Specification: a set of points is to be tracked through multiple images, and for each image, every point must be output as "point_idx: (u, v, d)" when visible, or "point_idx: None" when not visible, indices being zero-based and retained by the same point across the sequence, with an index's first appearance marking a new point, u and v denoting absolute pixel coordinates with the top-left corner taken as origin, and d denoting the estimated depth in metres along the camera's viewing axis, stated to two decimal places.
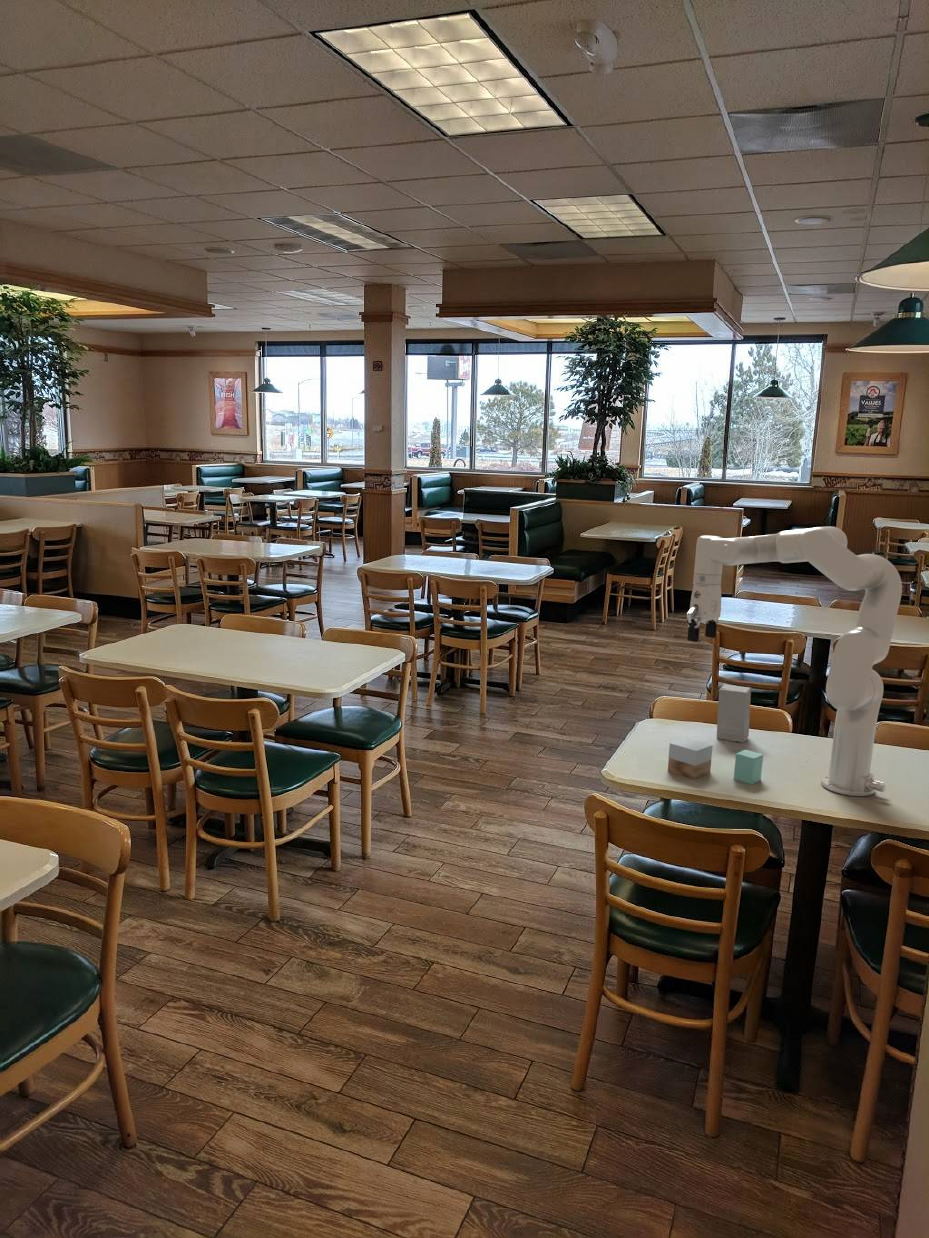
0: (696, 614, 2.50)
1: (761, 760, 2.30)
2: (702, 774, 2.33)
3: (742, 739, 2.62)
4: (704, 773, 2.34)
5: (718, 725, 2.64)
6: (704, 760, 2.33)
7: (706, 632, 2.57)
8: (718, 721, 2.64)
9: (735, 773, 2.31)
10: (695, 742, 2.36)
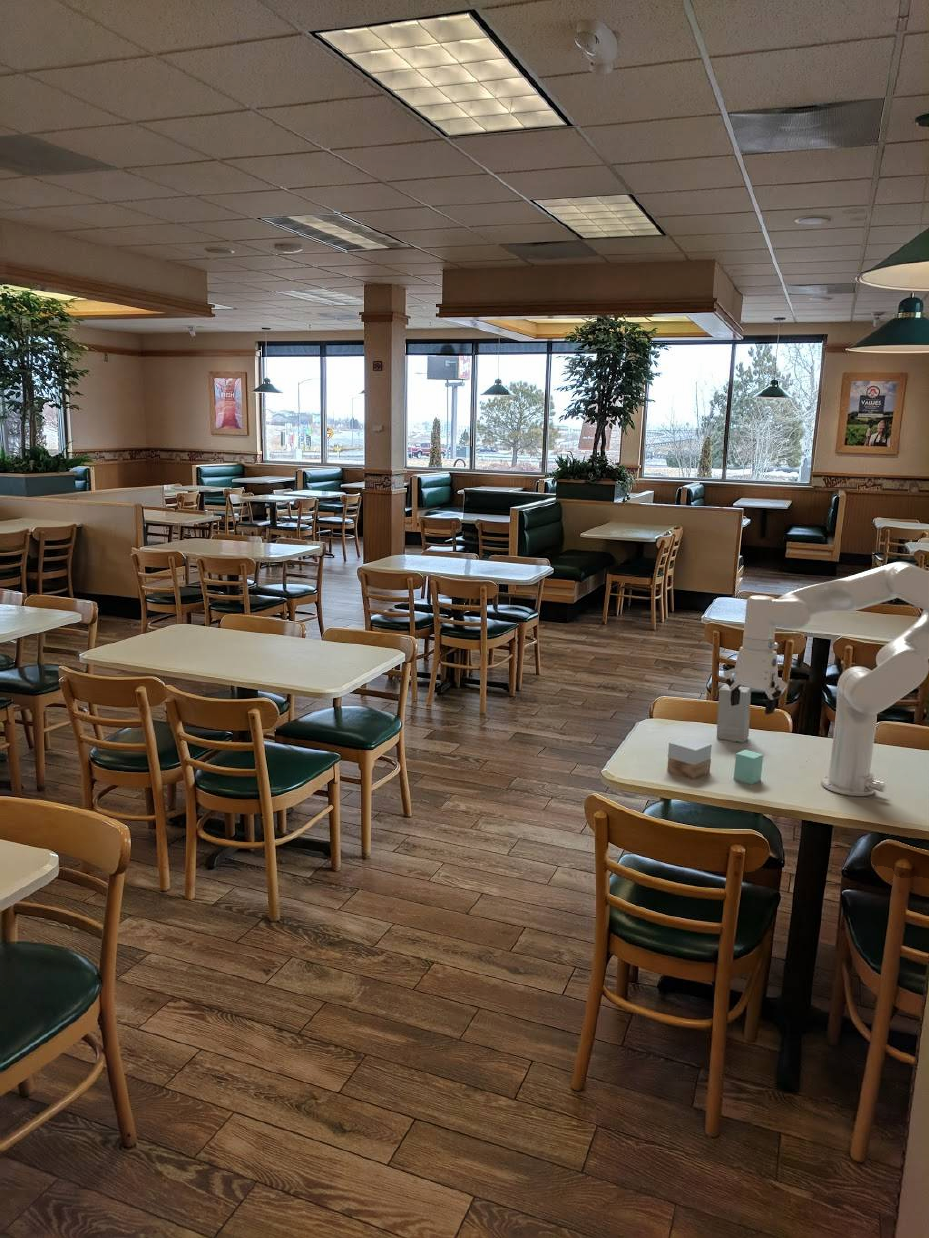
0: None
1: (761, 760, 2.30)
2: (702, 774, 2.33)
3: (742, 739, 2.62)
4: (704, 773, 2.34)
5: (718, 725, 2.64)
6: (703, 759, 2.33)
7: (734, 701, 2.32)
8: (718, 721, 2.64)
9: (735, 773, 2.31)
10: (694, 741, 2.36)
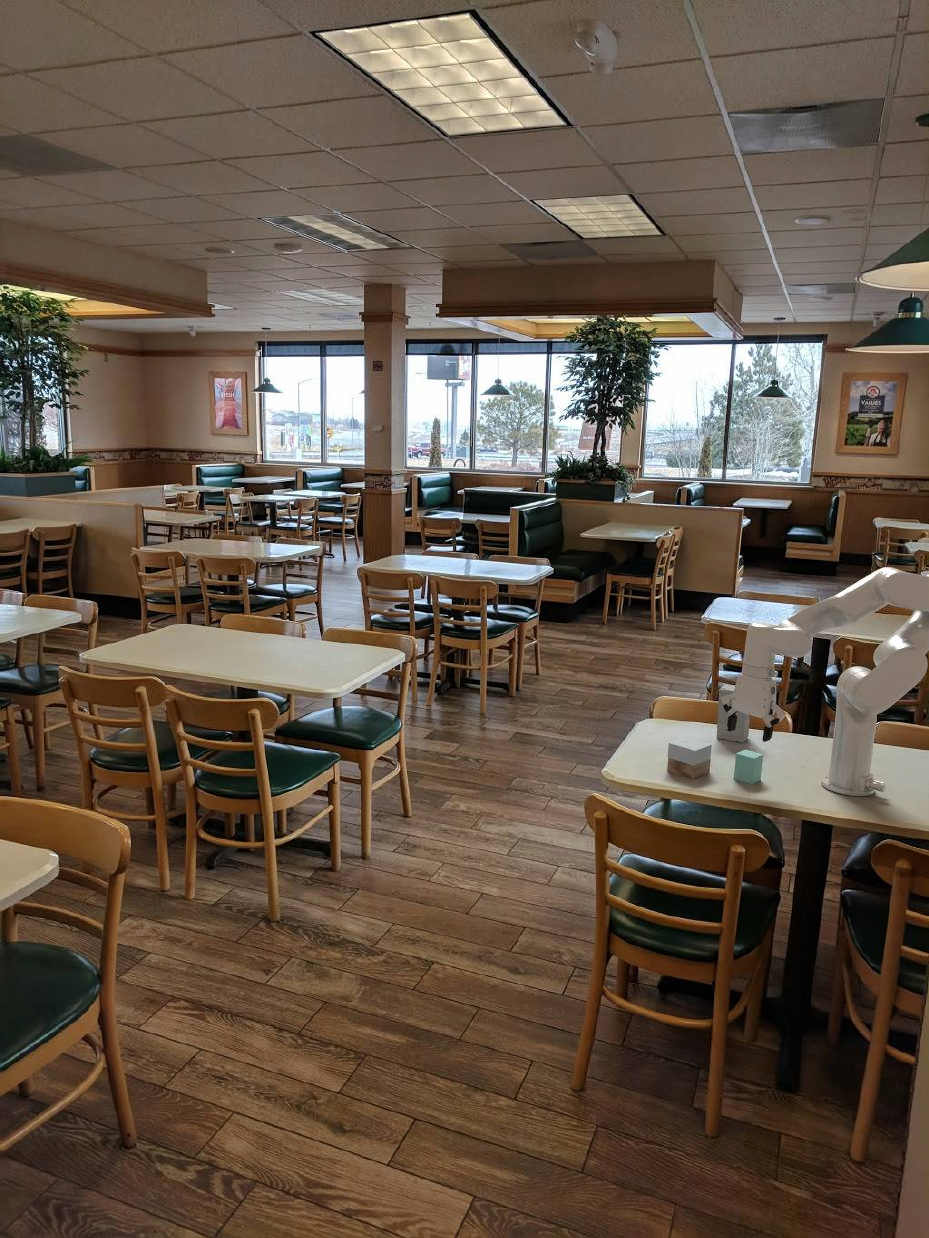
0: None
1: (761, 760, 2.30)
2: (701, 774, 2.33)
3: (742, 739, 2.62)
4: (703, 773, 2.34)
5: (718, 725, 2.64)
6: (703, 760, 2.33)
7: (731, 727, 2.32)
8: (718, 721, 2.64)
9: (735, 773, 2.31)
10: (694, 742, 2.36)
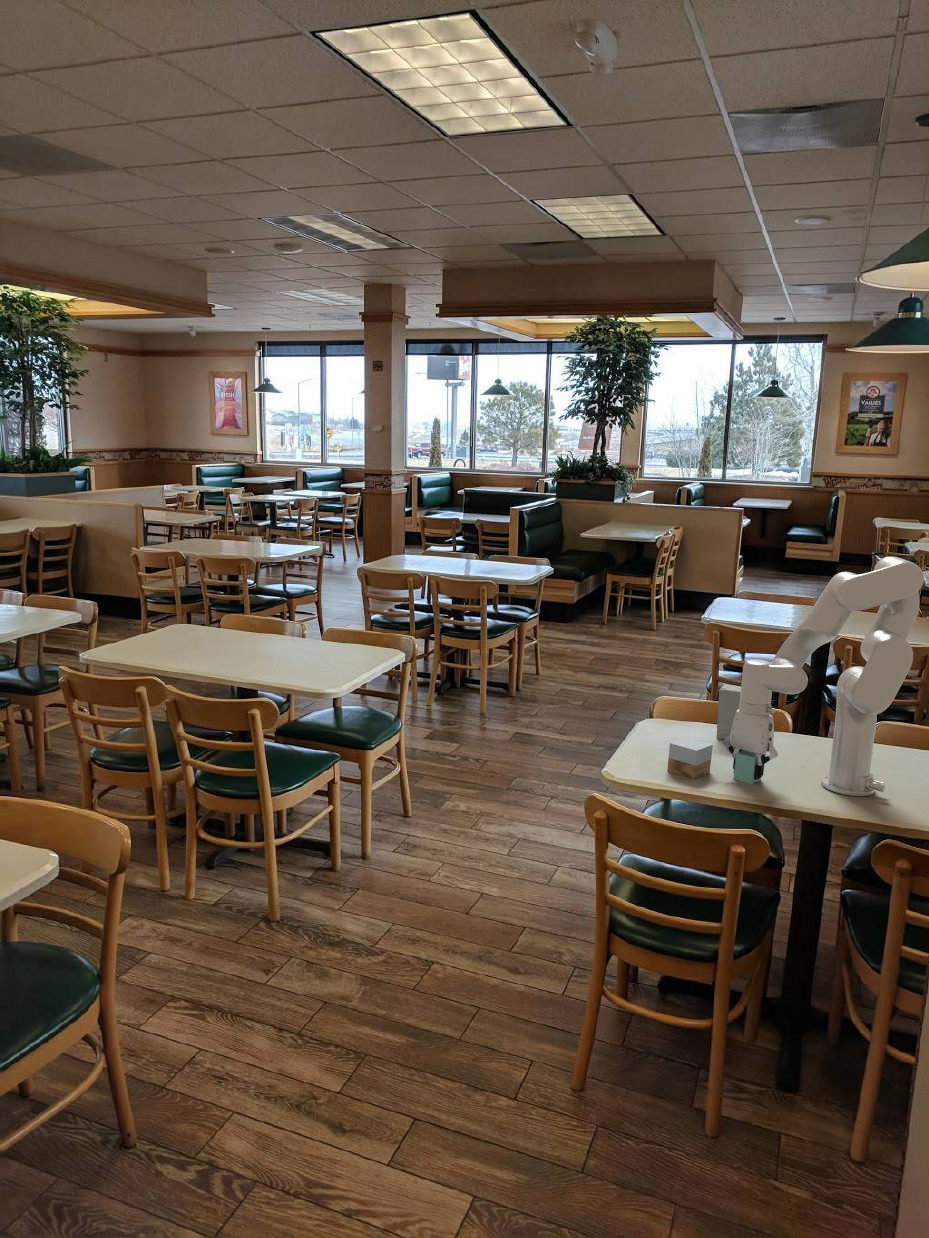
0: None
1: None
2: (702, 774, 2.33)
3: None
4: (704, 773, 2.34)
5: (718, 725, 2.64)
6: (704, 760, 2.32)
7: None
8: (718, 721, 2.64)
9: (735, 773, 2.31)
10: (695, 742, 2.36)
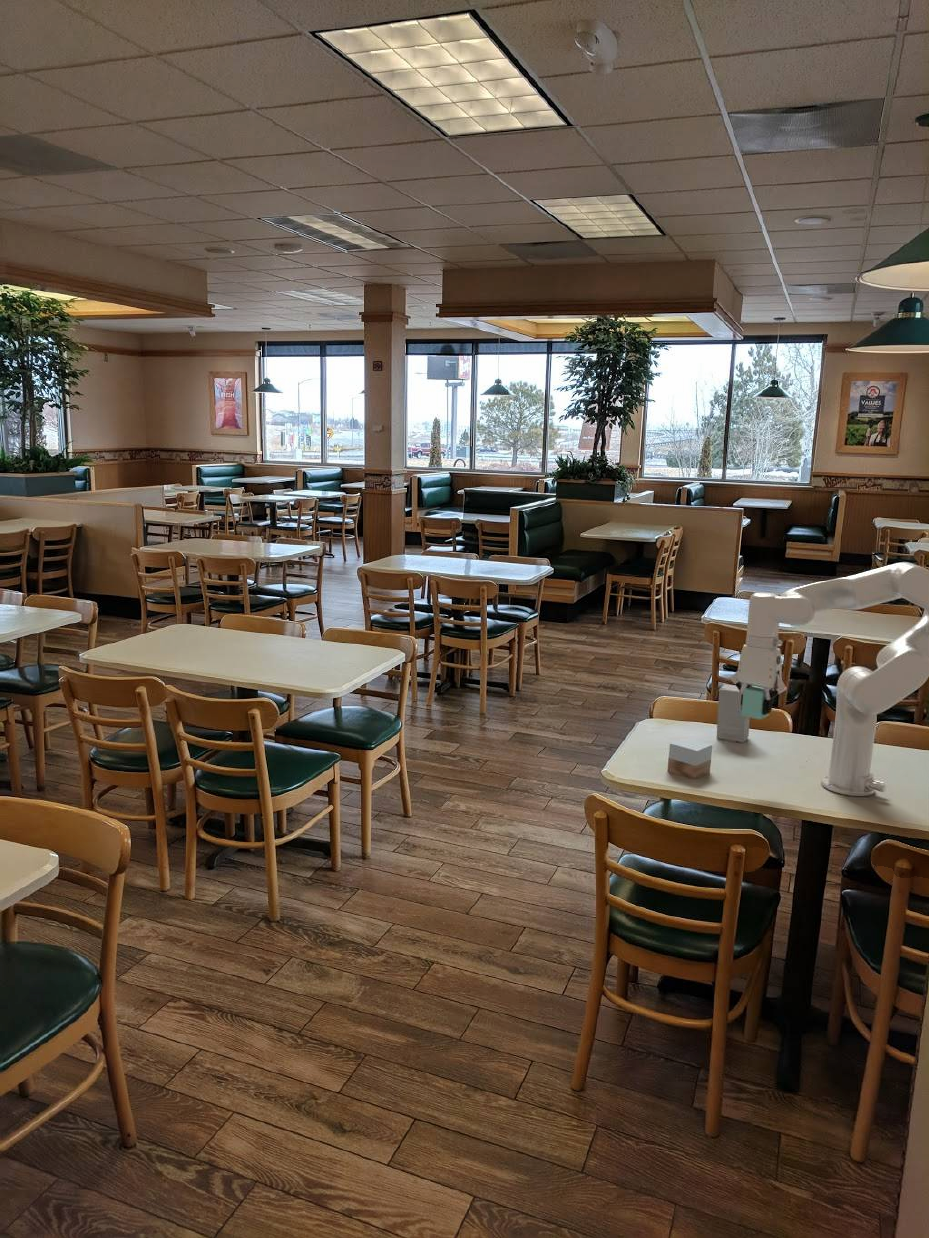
0: None
1: None
2: (702, 774, 2.33)
3: (742, 739, 2.62)
4: (704, 773, 2.34)
5: (718, 725, 2.64)
6: (704, 760, 2.33)
7: None
8: (718, 721, 2.64)
9: (743, 709, 2.28)
10: (695, 742, 2.36)
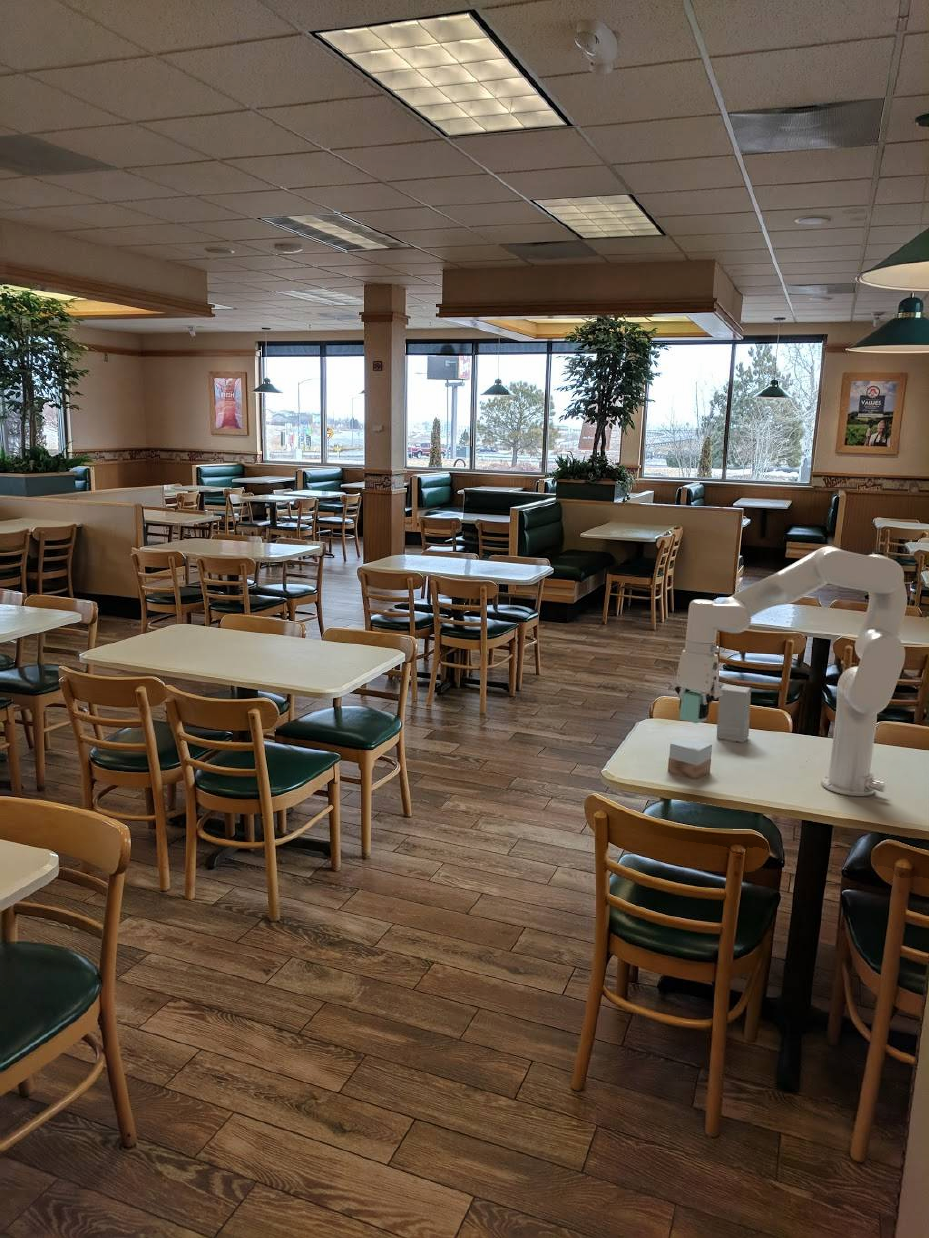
0: None
1: None
2: (702, 773, 2.33)
3: (742, 739, 2.62)
4: (704, 772, 2.34)
5: (718, 725, 2.64)
6: (705, 759, 2.33)
7: None
8: (718, 721, 2.64)
9: (681, 713, 2.33)
10: (695, 741, 2.36)
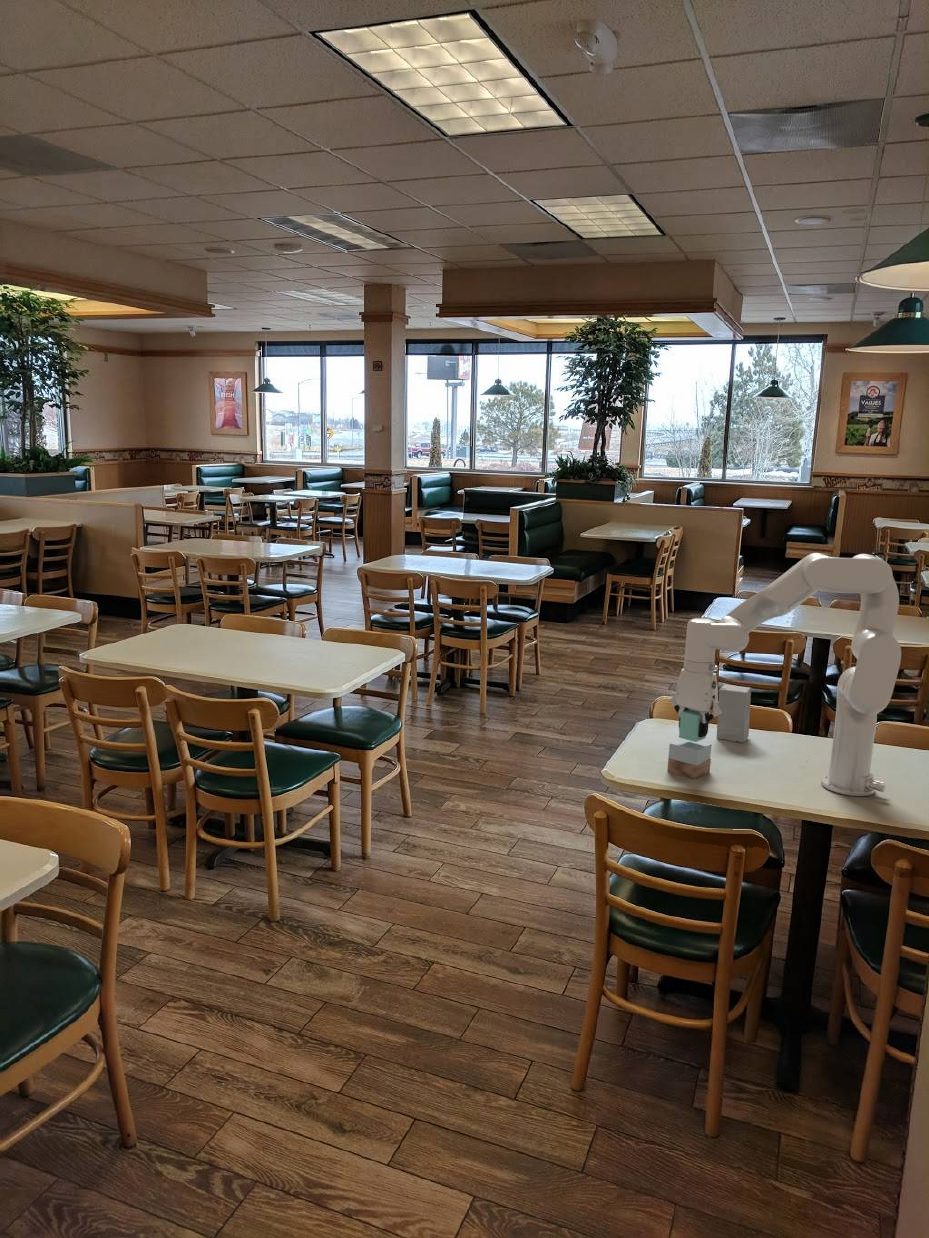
0: None
1: None
2: (702, 773, 2.33)
3: (742, 739, 2.62)
4: (704, 772, 2.34)
5: (718, 725, 2.64)
6: (704, 759, 2.33)
7: None
8: (718, 721, 2.64)
9: (680, 731, 2.33)
10: None
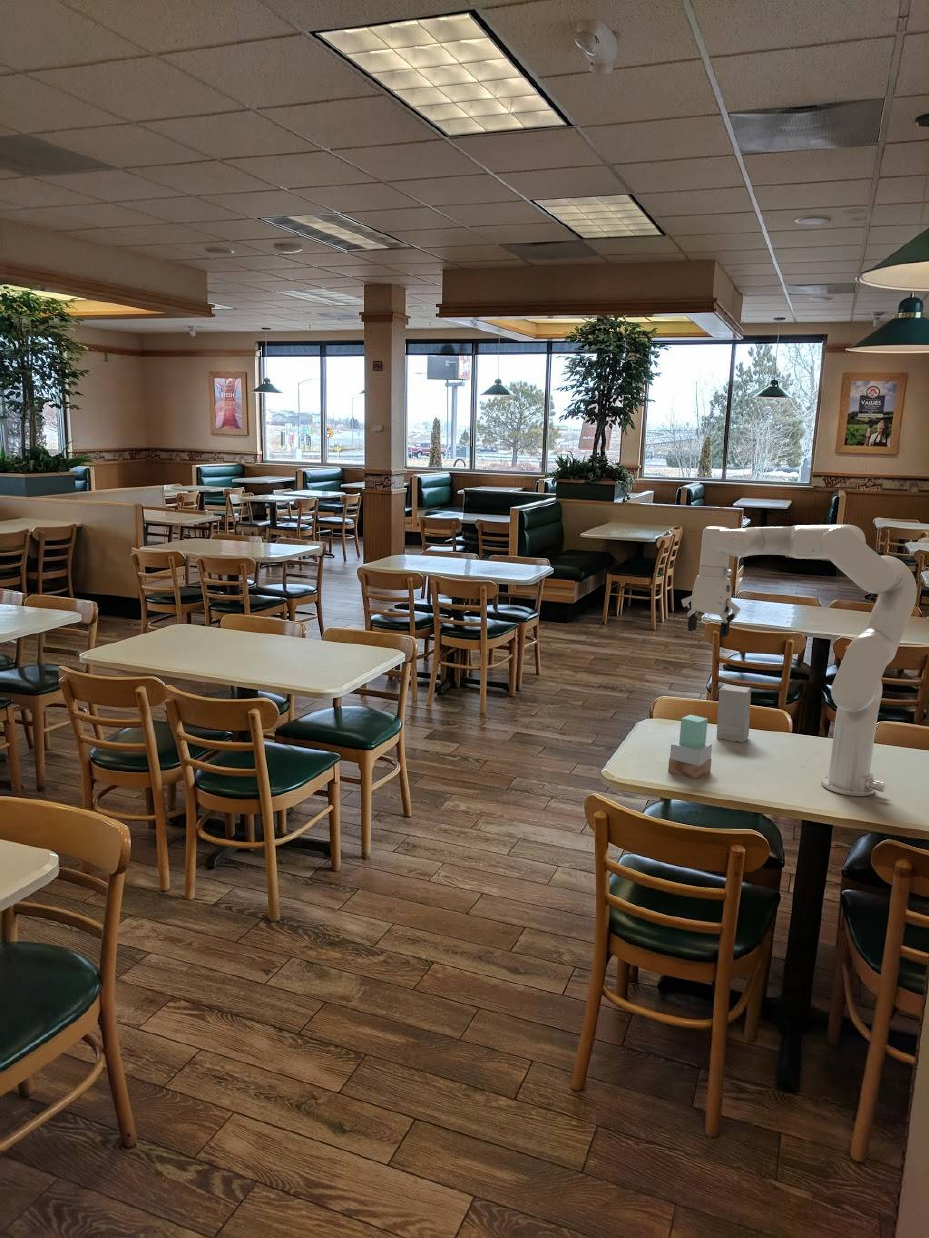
0: None
1: (706, 724, 2.33)
2: (703, 774, 2.33)
3: (742, 739, 2.62)
4: (704, 773, 2.34)
5: (718, 725, 2.64)
6: (705, 759, 2.33)
7: (691, 626, 2.48)
8: (718, 721, 2.64)
9: (681, 738, 2.34)
10: None
